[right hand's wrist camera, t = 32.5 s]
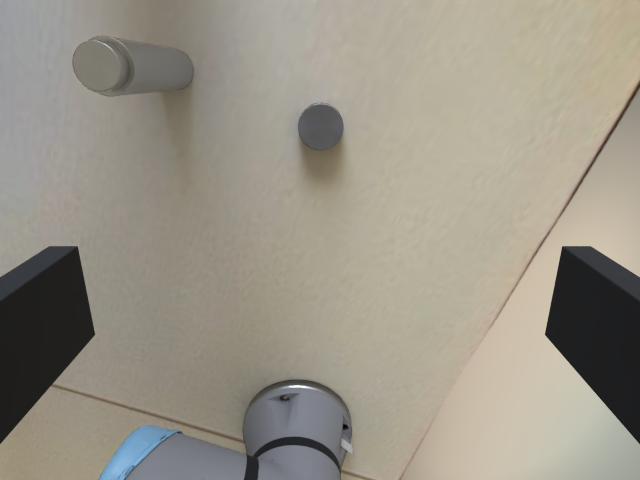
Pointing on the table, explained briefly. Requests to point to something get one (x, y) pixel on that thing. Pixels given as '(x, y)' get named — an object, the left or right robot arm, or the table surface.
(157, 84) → the grey capped cylinder
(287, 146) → the table surface
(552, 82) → the table surface
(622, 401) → the right robot arm
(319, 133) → the lid
